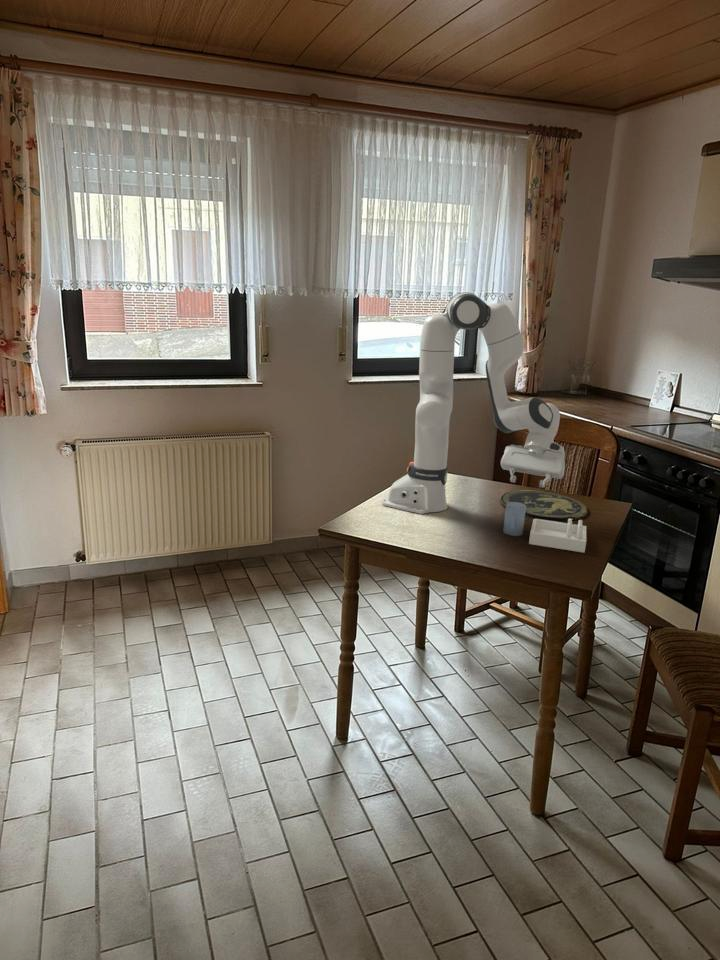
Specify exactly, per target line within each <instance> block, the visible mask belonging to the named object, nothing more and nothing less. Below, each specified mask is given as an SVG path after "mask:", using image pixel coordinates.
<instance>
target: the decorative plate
mask: <svg viewBox="0 0 720 960" xmlns="http://www.w3.org/2000/svg"><path fill="white" fill-rule="evenodd" d="M508 502H518V503H522V504H525V505H526V512H525V518H528V517H529V518H528V519H533V518H535V519H541V520H548V521H555V522H568V519H573V520H574V521H576V520H575V519H579V518H582V517H584V516H585V515H586V514H587V515H588V513H589V512H588V507H587V506H586V505H585V504H584V503H583V502H581V501H580V500H578V499H576V498H573V497H570V496H568V495H564V494H561V493H557V492H551V491H545V490H536V489H535V490H534V489H533V490H531V489H523V490H522V489H519V490H513V491H508V492H505V493H504V494H502V495H501V496H500V499H499V503H500V505H501V507H503V508H504V509H505V510H506V504H507V503H508ZM587 515H586V516H587ZM584 518H585V517H584ZM582 519H583V518H582ZM579 520H580V519H579Z"/></svg>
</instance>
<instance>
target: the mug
mask: <svg viewBox="0 0 720 960" xmlns="http://www.w3.org/2000/svg"><path fill="white" fill-rule="evenodd" d="M525 512H526V505H525V504H522V503H518V502H508V503H507V504H506V509H505V512H504V519H503V520H504V521H503V531H502V532H503V533H504V534H505V535H508V536H511V537H520V536H522V535H523V534H524V526H525V518H526V517H525Z"/></svg>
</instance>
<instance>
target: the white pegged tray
mask: <svg viewBox="0 0 720 960" xmlns="http://www.w3.org/2000/svg"><path fill="white" fill-rule="evenodd" d="M532 519H533V518H532ZM572 520H573V519H568V521H567V522H563V521H548V520H541V519H533V520H532V525H531V529H530V533H529V539H528V540H529V541H528V544H529V545H533V546H540V547H544V548H545V547H546V548H554V549H559V550H563V551H564V550H567V551H572V552H578V553H586V552H585V551H586V546H587V525H583V519H579V520H577V521H578V523H577V524H573V521H572Z"/></svg>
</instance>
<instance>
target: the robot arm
mask: <svg viewBox="0 0 720 960" xmlns="http://www.w3.org/2000/svg"><path fill="white" fill-rule="evenodd" d="M477 329H478V330H480V332H481V333H482V335H483V338H484V340H485V343H486V346H487V351H488V352H487V353H488V359H487V361H486V362H485V374H486V381H487V385H488V389H489V395H490V400H491V406H492V415H493V416H492V417H493V422H494V423H493V424H494V425H495V426H496V429H499V431H500V432H502V433H505V434H510V433H513V432H517V431H520V430H525V429H526V430H528V431H529V432H528V434H527V436H526V439H525V443H524V445H517V444H516V445H515V444H512V443H511V444H509V445H507V446H505V449H504V451H503V453H504V454H503V455H502V457H501V459H500V466H501V468H502V470H504V471H505V470H506V471H509V474H510V478H509V480H510V481H509V482H511V483H515V484H516V481H517V476H516V475H514V474H515V473H516V472H517V473H523V474H526V475H527V474H529V475H534V476H539V477H545V478H544V479H540V480H539V484H538V486H539V488H542V489H543V488H545V486H546V484H548V483H549V482H550V480H551V479H558V480H560V479H562V478H563V477H564V475H565V468H566V467H565V465H566V464H565V463H566V462H565V458H566V455H565V454H566V453H565V448H564V446H562V445H560V444H559V443H556V442H555V441H554V439H555V437H556V436H557V434H558V430H559V426H560V420H561V413H560V409H559V408H558V407H557V406H556V405H554V404H553V403H551V402H550V403H549V402H545V401H544V399H542V398H540V397H539V396H536V397H535V396H534V397H529V398H528V397H527V398H524V399H523V398H522V399H520V400H515V401H511V400H510V399H509V397H508V392H507V387H506V383H505V374H506V373H507V371H508V369H510V368H511V367H512V366H513V365H515V364H516V363H517V362H518V361H519V360H520V358H521V357H522V355H523V354H524V351H525V343H524V339H523V335H522V332H521V330H520V327H519V325H518V322H517V320H516V318H515V316H514V314H513V313H512V310H511V309H510V307H509V306H508V304H506V303H503V302H495V303H492V304H487V303H486V302H485V301H483V300H482V299H481V298H480V297H478V296H477V295H476V294H474V293H472V292H468V291H465V292H459V293H457V294H455V295H453V296H452V297H451V298H450V299H449V301H448V303H447V304H446V306H445V307H444V309H443V311H442V312H441V313H437V314H431V315H429V316H428V317H426V318H425V320H424V322H423V326H422V329H421V334H420V344H419V363H418V364H419V367H418V368H419V369H418V375H419V377H418V378H419V402H418V403H417V406H416V408H415V421H414V423H415V427H414V429H415V430H414V431H415V432H414V436H415V437H414V439H415V441H414V455H413V461H411V462H409V464H408V466H407V468H406V474H405V475H403V476H402V477H399V478H398V479H397V480H395V481H394V482H393V483H392V484H391V486H390V489H389V492H388V493H387V494H385V495H384V496H383V497H382V499H381V504H382V505H383V506H385V507H389V508H393V509H398V510H402V511H406V512H412V513H416V514H420V515H423V514H428V513H429V514H430V513H438V512H443V511H446V510H447V509H448V503H447V497H446V496H447V495H446V483H447V481H448V467H447V465H448V464H447V463H448V462H447V461H448V454H449V453H448V452H449V451H448V450H449V437H450V436H449V434H450V420H451V419H450V418H451V416H452V412H453V409H454V408H453V406H454V401H453V400H454V369H455V368H454V365H455V346H456V344H455V343H456V342H455V341H456V336H457V334H458V332H459V331H460V330H477Z"/></svg>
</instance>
